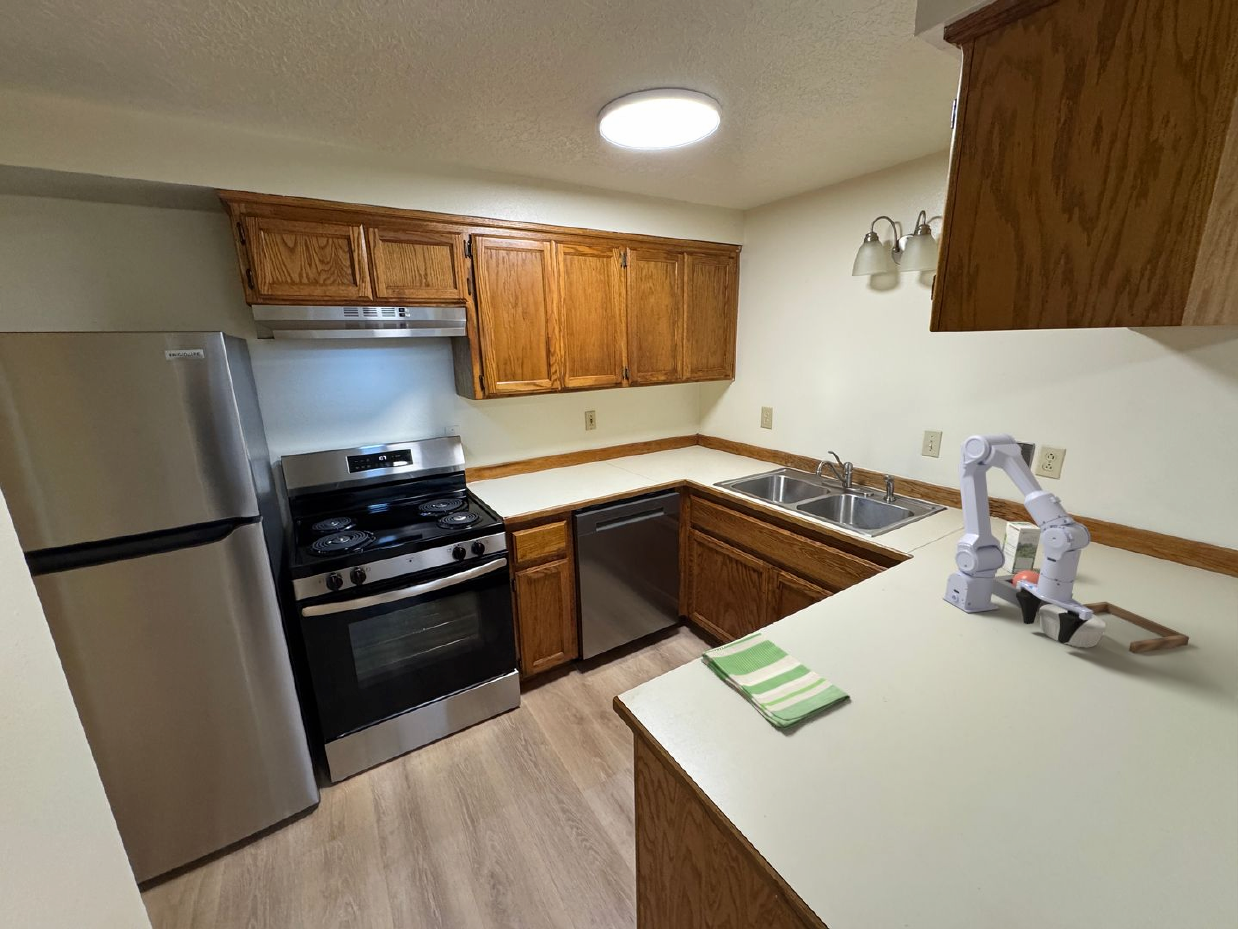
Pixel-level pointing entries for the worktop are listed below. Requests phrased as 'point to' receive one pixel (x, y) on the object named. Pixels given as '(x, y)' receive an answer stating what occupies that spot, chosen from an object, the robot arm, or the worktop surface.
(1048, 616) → the ramekin
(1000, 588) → the base
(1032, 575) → the salmon pink ball
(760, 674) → the dish towel
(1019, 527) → the syrup box
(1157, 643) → the bent wooden slat
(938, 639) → the worktop surface
